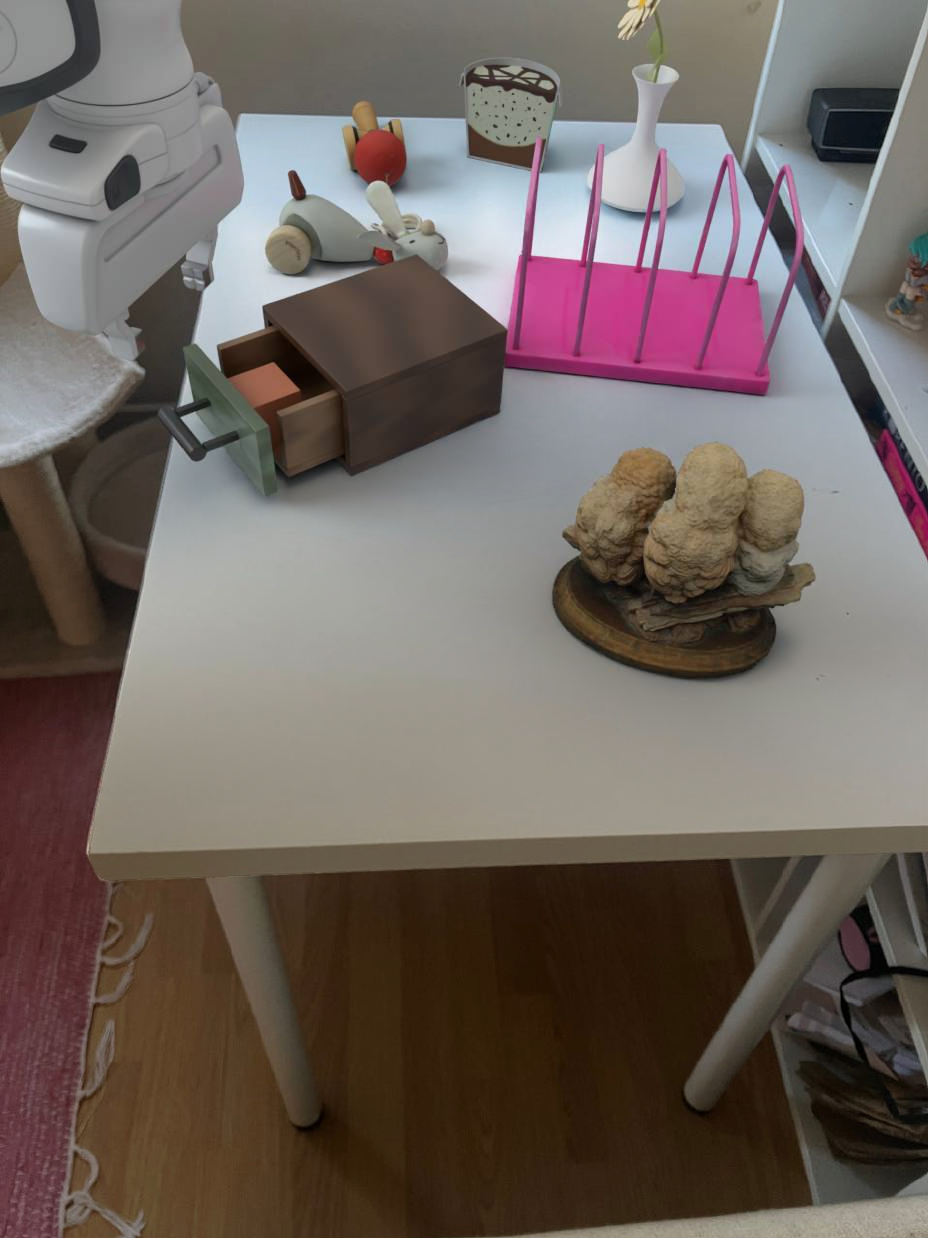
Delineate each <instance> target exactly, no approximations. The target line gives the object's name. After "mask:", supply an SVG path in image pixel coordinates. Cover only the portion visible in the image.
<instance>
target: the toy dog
mask: <svg viewBox="0 0 928 1238" xmlns="http://www.w3.org/2000/svg"><path fill="white" fill-rule="evenodd" d="M287 177H288V182H289V188H290V193H291V196H292V197H293V198H291V199H289V200H288V201H287V202H286V203H285V204H284V206H283V207H282V209H281V210H280V214H279V218H278V226H277V227H276V228H274V229H273V230H272V231H271V232H270V234H269V236H268V238H267V240H266V242H265V246H264V251H265V257H266V259H267V261H268V263H269V264H270V265H271V267H272V268H273V269H275V270H276V271H278V272H280V273H282V274H286V275H295V274H299V273H301V272H302V271H303V270H305V269H306V267H307V265H309V264H308V263H309V262H310V259H312V260H313V259H314V260H318V261H326V262H335V263H338V262H339V263H348V262H365V261H370V260H371V259H372V257H374V258H375V260H376V262H378V263H380V264H382V265H386V264H389V263H392V262H395V261H398V260H401V259H404V258H407V257H410V256H413V255H415V254H417V255H418V256H420V257H421V258H422V259H423V260H424V261H426V262H427V263H428V264H429V265H430V266H432V267H433V268H434V269H435V270H436V271H439V270H441V268H443V267H444V266H445V265H446V263H447V261H448V256H449V247H448V242H447V239H446V237H445V236H444V235H443V234H442V233H441V232H440V231H438V230H436V225H435V223H434V222H433V220H431V219H424V220H423V219H422V217H421V216H420V215H418V214H417V213H411V212H409V213H402V214H401V212H400V209H399V204H398V203H397V201H396V197H395V195H394V194H393V191H392V189H391V188H390V187H391V186H388V185H387V184H386V183H385V182H383V181H375V182H372V183H371V184H368V186H366V190H365V199H366V202H367V204H368V205H369V206H370V208H371V209H372V210H373V211H374V212H375V214H376V215H377V217H378V218H379V219H380V220H381V223H380V224H378V223H376V222H371V224H370V228H372V229H373V230H369V229H367V227H366V226H364V225H363V224H362V223H361V222H360V221H359V220H358V219H357V218H356V217H354V216H353V215H352V214H351V213H349V212H347V211H346V210H345V209H344V208H342V207H340V206H339V205H337V204H336V203H333V202H332V201H330V200H329V199H326V198H324V197H322V196H319V195H317V194H310V193H309V194H308V193H307V190H306V187H305V186H304V184H303V182H302V180H301V178H300V176H299V174H298V173H297V171H296V170H295V169H291V170H288V172H287ZM407 229H414V230H412V231H410V230H407Z"/></svg>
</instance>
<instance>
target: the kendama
mask: <svg viewBox="0 0 928 1238" xmlns="http://www.w3.org/2000/svg"><path fill="white" fill-rule="evenodd" d="M351 116H352V117H351V118H352V120H353V122H354V123H355V125H356V127H355V126H354V125H353V124H347V125H343V126H342V127H341V130H342V137H343V142H344V146H345V151H346V156H347V161H348V165H349V170H350V171H356V172H357V173H358V175H359V177H360V178H361V179H362V180H363V181H364V182H366V183H367V184H368V185H370V184H371V183H372V182H375V181H383V182H385V183H386V184H387V185H388V186H389V187H391V186H392V185H395V184H396V183H397V182H399V181H400V179H401V178H402V177H403V175H404V173H405V171H406V168H407V161H408V159H407V158H408V157H407V150H406V142H405V141H406V140H405V137H404V131H403V126H402V123H401V120H400V118H392V119H390V121H389V122H388V123H387V124H386V125H385V126H384V127H383V128H381V129H380V127H379V121H378V117H377V111H376V108H375V106H373V104H372V103H371V102H369V101H366V100H363V101H359V102H357V103H356V104H355V105H354V106H353V108H352V112H351Z"/></svg>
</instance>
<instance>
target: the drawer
mask: <svg viewBox="0 0 928 1238" xmlns="http://www.w3.org/2000/svg"><path fill="white" fill-rule="evenodd" d="M182 350H183V356H184V362H185V366H186V371H187V376H188V382H189V387H190V391H191V396H192V402H190V403H189V402H188V403H187V404H184V405H181V406H178V407H175V408H174V407H172V406H170V405H165V406H162V407H161V408H160V409H159V410H158V411H157V419H158V420H159V421H160V423H162V425H163V426H164V427H165V428H166V430H167V431H168V432H169V433H170V435H171V436H172V437H173V438H174V440H175V441H176V442H177V444H178V445H179V446H180V447H181V449H182V450H183V451H184V452H185V454H186V455H187V456H188V458H189V459H190V461H193V462H194V463H195V462H197V463H198V462H201V461H203V460H204V459H205V458H206V457H207V453H208V452H212V451H213V450H216V449H219V448H222V447H223V449H224V450H225V451H226V452H227V453H228V455H229V456H230V458H232V459H233V461H234V462H235V463H236V464H237V466H238V467H239V468H240V469H241V470H242V471H243V473H244V474H245V475H246V477H247V478H248V479H249V480H250V481H251V482H252V484H253V485H254V486H255V487H256V488H257V490H258V491H259V492H260V493H261V494H262V496H263V497H264V498H269V497H270V496H273V495H276V494H277V493H279V490H278V482H277V475H276V466H275V464H276V465H277V466H278V467H279V468H280V469H281V470H282V472H283V473H284V474H285V475H286V476H287V478H290V477H293V476H295V475H297V474H299V473H302V472H305V471H307V470H309V469H311V468H314V467H317V466H319V465H321V464H323V463H326V462H329V461H331V460H333V459H335V458H336V457H338V456H341V455H343V454H345V442H344V424H343V407H342V395H341V394H340V393H339V392H338V391H337V389H336V388H335V387H334V386H333V385H332V384H331V383H330V382H329V381H328V380H327V379H326V378H325V377H324V376H323V375H322V374H321V373H320V372H319V371H318V370H317V369H316V368H315V367H314V366H313V365H312V364H311V363H310V362H309V361H308V360H307V359H306V358H305V357H304V356H303V355H302V354H301V353H300V352H299V351H298V350H297V349H296V348H295V347H294V346H293V345H292V344H291V342H290V341H289V340H288V339H287V338H286V337H285V336H284V335H283V334H282V333H281V332H280V331H279V330H278V329H277V328H276V327H275V326H274V325H273V326H270V327H267V328H265V327H264V328H262V329H259V330H256V331H253V332H250V333H248V334H244V335H241V336H239V337H235V338H233V339H230V340H228V341H224V342H221V343H218V344H216V351H217V357H218V362H219V367H217V365H216V364H215V362H213V361H212V360H211V359H210V358H209V356H208V355H207V354H206V353H205V351H203V349H202V348H201V347H200V346H199V345H198V343H195V342H194V343H192V344H189V345H186V346H183V347H182ZM272 362H274V363H275V364H276V365H277V366H278V367H279V368H280V369H281V370H282V371H283V373H284V374H285V375H286V376H287V377H288V378H289V379H290V380H291V381H292V382H293V383H294V384H295V385H296V386H297V387H298V388H299V389H300V392H301V402H300V403H298V404H295V405H293V406H290V407H287V408H285V409H282V410H279V411H277V419H278V427H279V435H280V443H279V444H276V445H274V446H272V443H271V435H270V427H269V425H268V424H267V423H266V422H265V421H264V420H263V419H262V417H261V416H260V415H259V414H258V413H257V412H256V411H255V410H254V408H253V407H252V406H251V405H250V404H249V403H248V402H247V401H246V399H245V398H244V397H243V396H242V395H241V394H240V393H239V391H238V390H237V389H236V388H235V387H234V386H233V385H232V384H231V382H230V381H229V380H228V378H231V377H233V376H236V375H239V374H242V373H244V372H247V371H250V370H253V369H256V368H258V367H261V366H264V365H267V364H269V363H272ZM193 413H195V415H196V416H197V417H198V418H199V420H200V421H201V422H202V423H203V425H205V427H206V428H207V429H208V431H210V433H211V434H212V435H213V437H214V438H211V439H209V440H206V441H204V442H201V441H200V440H199V439H198V437H197V436H196V435H195V433H193V431H192V430H191V429H190V428H189V426H188V425H187V424H186V422H185V421H184V420H183V417H186V416H188V415H190V414H193Z"/></svg>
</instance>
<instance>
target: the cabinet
mask: <svg viewBox="0 0 928 1238" xmlns="http://www.w3.org/2000/svg"><path fill="white" fill-rule="evenodd" d="M261 308H262V317H263V324H264V329H265V328H267V327H270V326H273V325H274V326H275V327H276V328H277V329H278V330H279V331H280V332H281V333H282V334H283V335H284V336H285V337H286V338H287V339H288V340H289V341H290V342H291V344H292V345H293V346H294V347H295V348H296V349H297V350H298V351H299V352H300V353H301V354H302V355H303V356H304V357H305V358H306V359H307V360H308V361H309V362H310V363H311V364H312V365H313V366H314V367H315V368H316V369H317V370H318V371H319V372H320V373H321V374H322V375H323V376H324V377H325V378H326V379H327V380H328V381H329V382H330V383H331V384H332V385H333V386H334V387H335V388H336V389H337V391H338V392H339V393H340V394H341V395H342V407H343V424H344V442H345V454H343V455H341V456H338V457H336V458H334V459H335V460H336V461H337V462H338V463H339V464H340V465H341V467H342V468H343V469H344V470H345V471H346V472H347V474H349V475H350V476H351V477H352V476H354V475H357V474H360V473H361V472H364V471H366V470H369V469H371V468H373V467H376V466H378V465H381V464H383V463H385V462H387V461H390V460H392V459H394V458H397V457H400V456H402V455H404V454H406V453H409V452H411V451H413V450H415V449H418V448H420V447H423V446H425V445H427V444H429V443H432V442H434V441H437V440H439V439H441V438H443V437H446V436H448V435H450V434H453V433H455V432H458V431H460V430H462V429H465V428H467V427H469V426H472V425H474V424H476V423H478V422H481V421H484V420H486V419H488V418H491V417H492V416H495V415H497V414H500V413H501V407H502V406H501V404H502V396H503V395H502V394H503V387H504V386H503V384H504V373H505V365H504V364H505V354H506V343H507V333H508V327H506V326H504V325H503V324H502V323H501V322H500V321H498V320H497V319H496V318H495V317H493V316H492V315H491V314H490V313H489V312H487V311H486V309H483V307H481V306H480V305H479V304H478V303H476V301H474V300H473V299H471V297H469V295H467V294H466V293H465V292H463V291H462V290H461V289H460V288H458V286H456V285H455V284H454V283H452V282H451V281H450V280H449V279H447V278H446V276H444V275H442V274H441V273H440V272H439V270H435V269H434V268H433V267H432V266H430V265H429V264H428V263H427V262H426V261H424V260H423V259H422V258H421V257H420V256H418V255H417V254H415V255H413V256H410V257H407V258H404V259H401V260H398V261H393V262H392V263H389V264H382V265H380V266H377V267H373V268H371V269H368V270H366V271H362V272H359V273H355V274H352V275H350V276H347V277H344V278H341V279H338V280H335V281H332V282H329V283H326V284H323V285H320V286H317V287H314V288H310V289H308V290H304V291H302V292H299V293H295V294H293V295H290V296H287V297H283V298H280V299H278V300H274V301H272V302H269V303H266V304H262V306H261Z"/></svg>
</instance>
